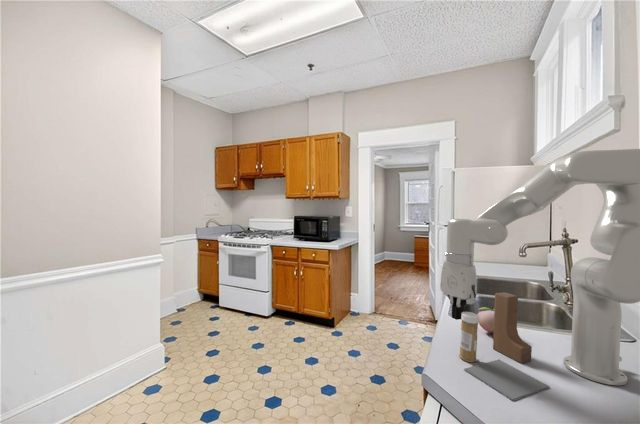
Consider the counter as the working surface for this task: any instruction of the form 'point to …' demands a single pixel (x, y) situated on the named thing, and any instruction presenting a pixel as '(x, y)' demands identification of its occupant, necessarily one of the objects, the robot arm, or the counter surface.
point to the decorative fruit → (486, 319)
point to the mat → (506, 379)
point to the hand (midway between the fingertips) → (457, 318)
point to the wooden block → (508, 329)
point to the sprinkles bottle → (468, 336)
